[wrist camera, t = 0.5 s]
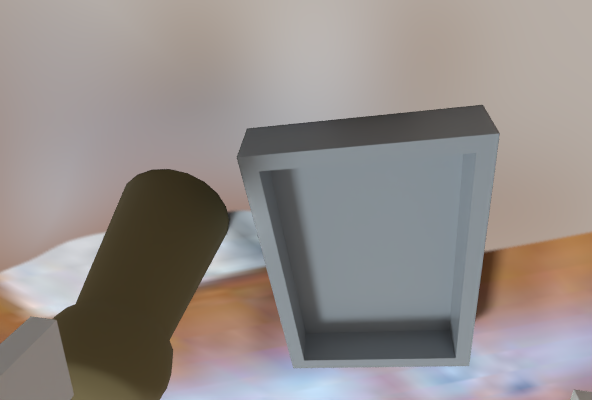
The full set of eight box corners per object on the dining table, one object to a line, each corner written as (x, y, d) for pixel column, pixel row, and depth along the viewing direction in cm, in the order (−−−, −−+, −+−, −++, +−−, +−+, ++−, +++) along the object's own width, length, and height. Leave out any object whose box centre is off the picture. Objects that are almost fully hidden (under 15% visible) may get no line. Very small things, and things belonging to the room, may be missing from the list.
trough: (247, 128, 21) (236, 157, 19) (482, 104, 19) (499, 133, 17) (296, 333, 30) (293, 368, 28) (459, 329, 28) (468, 365, 26)
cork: (129, 152, 22) (-8, 336, 14) (243, 193, 23) (183, 390, 15) (114, 233, 26) (-3, 421, 17) (212, 266, 27) (150, 460, 18)
